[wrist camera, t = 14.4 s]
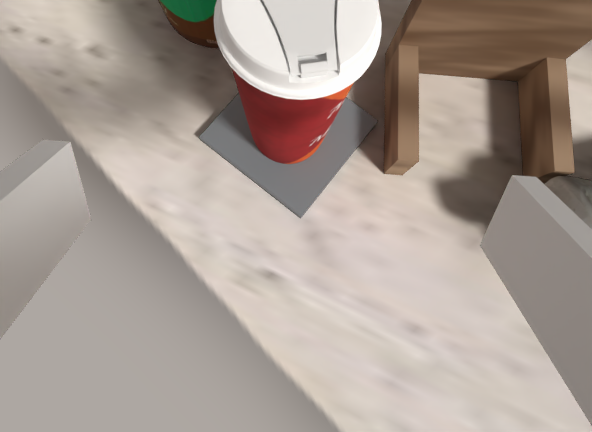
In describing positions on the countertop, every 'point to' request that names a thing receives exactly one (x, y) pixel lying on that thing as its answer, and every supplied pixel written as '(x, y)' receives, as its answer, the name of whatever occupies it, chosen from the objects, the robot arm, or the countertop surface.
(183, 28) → the food container
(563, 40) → the walnut rack
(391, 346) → the countertop surface
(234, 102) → the charcoal mat
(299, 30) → the paper cup
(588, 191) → the crushed grey plastic bottle
